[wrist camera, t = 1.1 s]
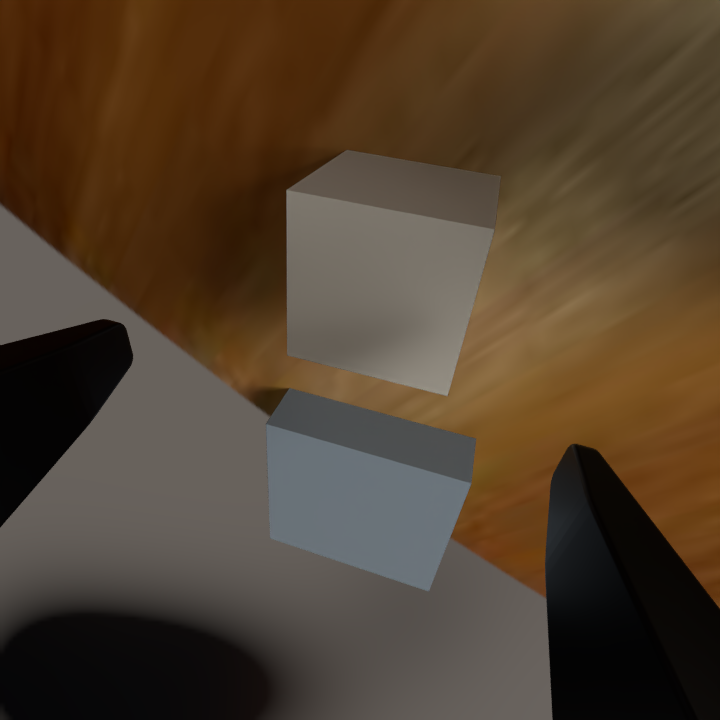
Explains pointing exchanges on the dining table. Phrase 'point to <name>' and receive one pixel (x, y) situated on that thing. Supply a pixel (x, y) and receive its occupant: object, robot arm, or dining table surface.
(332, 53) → the dining table surface
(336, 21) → the dining table surface
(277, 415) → the slate block
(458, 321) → the cream cube
